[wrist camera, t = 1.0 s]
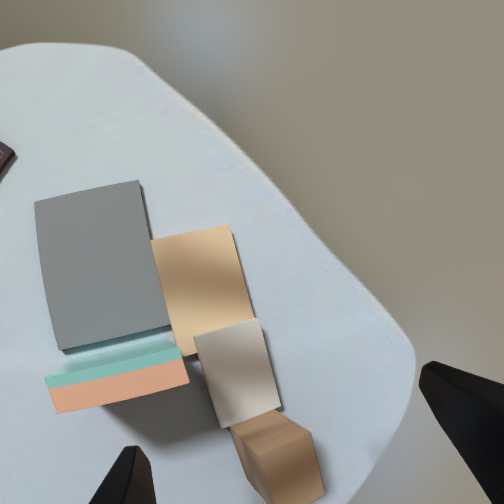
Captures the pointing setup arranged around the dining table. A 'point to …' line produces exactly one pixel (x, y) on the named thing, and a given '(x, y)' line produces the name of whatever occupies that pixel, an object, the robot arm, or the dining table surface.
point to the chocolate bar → (5, 155)
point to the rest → (201, 283)
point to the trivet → (98, 265)
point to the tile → (117, 375)
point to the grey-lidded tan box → (258, 415)
